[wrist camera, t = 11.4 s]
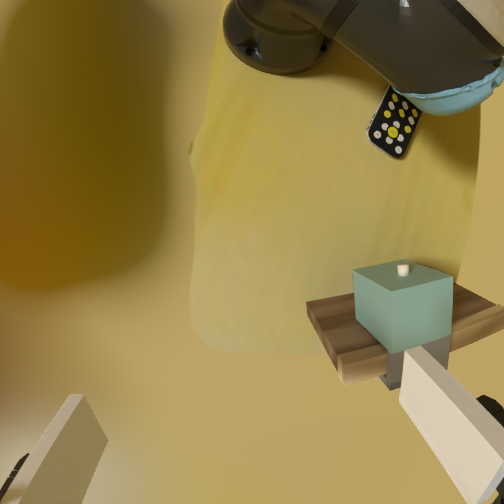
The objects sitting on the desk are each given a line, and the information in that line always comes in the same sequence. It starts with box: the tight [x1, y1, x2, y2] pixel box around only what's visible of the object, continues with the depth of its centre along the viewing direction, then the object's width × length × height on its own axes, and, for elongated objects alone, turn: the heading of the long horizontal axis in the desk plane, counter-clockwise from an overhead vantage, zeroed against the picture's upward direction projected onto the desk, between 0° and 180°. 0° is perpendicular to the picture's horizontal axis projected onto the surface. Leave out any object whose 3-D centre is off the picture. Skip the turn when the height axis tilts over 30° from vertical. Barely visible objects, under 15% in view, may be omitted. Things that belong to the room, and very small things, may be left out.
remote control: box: [366, 84, 422, 158], centre depth 37 cm, size 6×13×2 cm, turn 152°
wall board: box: [306, 282, 504, 385], centre depth 35 cm, size 2×22×17 cm, turn 99°
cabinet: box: [352, 260, 453, 391], centre depth 30 cm, size 11×7×10 cm, turn 9°
